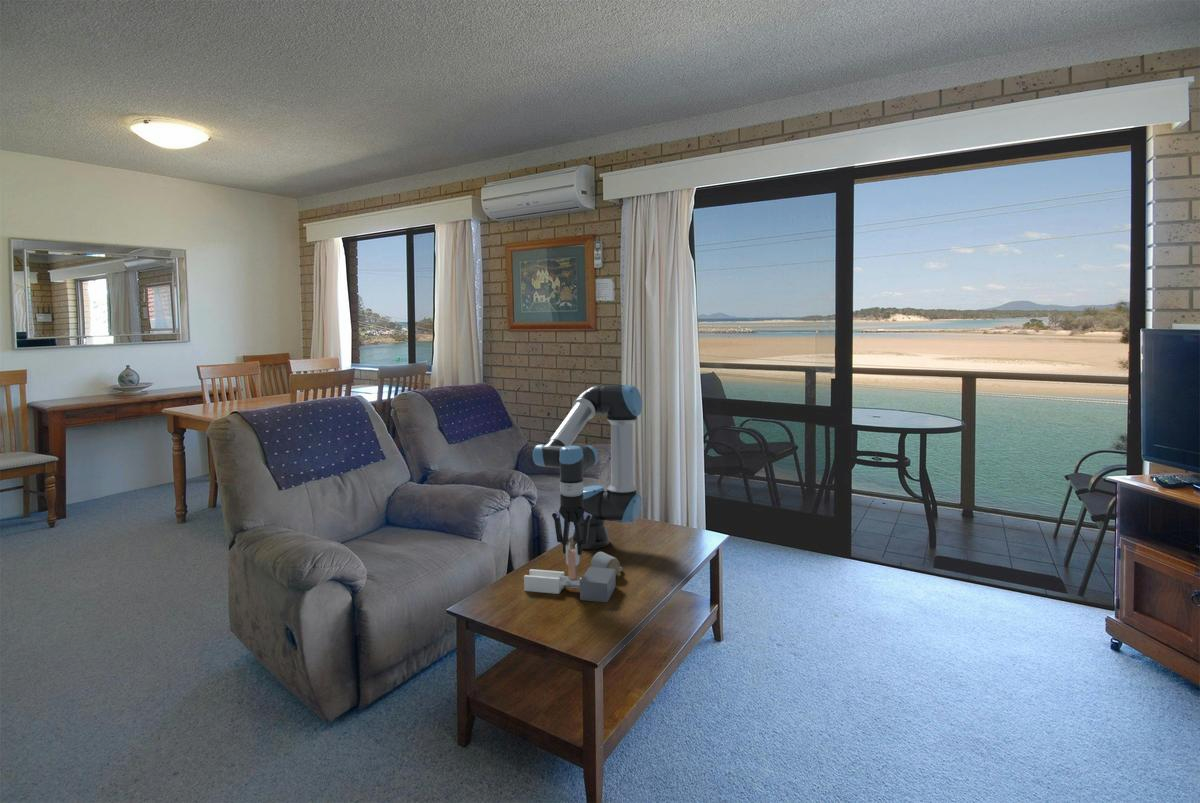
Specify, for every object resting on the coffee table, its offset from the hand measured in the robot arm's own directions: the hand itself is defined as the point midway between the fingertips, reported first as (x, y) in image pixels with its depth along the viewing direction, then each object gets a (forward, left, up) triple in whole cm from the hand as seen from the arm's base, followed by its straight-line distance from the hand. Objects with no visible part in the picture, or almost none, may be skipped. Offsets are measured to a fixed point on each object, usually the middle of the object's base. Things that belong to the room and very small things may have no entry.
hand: (572, 563), depth 202 cm
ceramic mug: (-16, +8, -10) cm, 21 cm away
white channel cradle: (0, -10, -10) cm, 14 cm away
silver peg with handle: (0, +3, -8) cm, 9 cm away
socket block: (0, +8, -10) cm, 12 cm away
